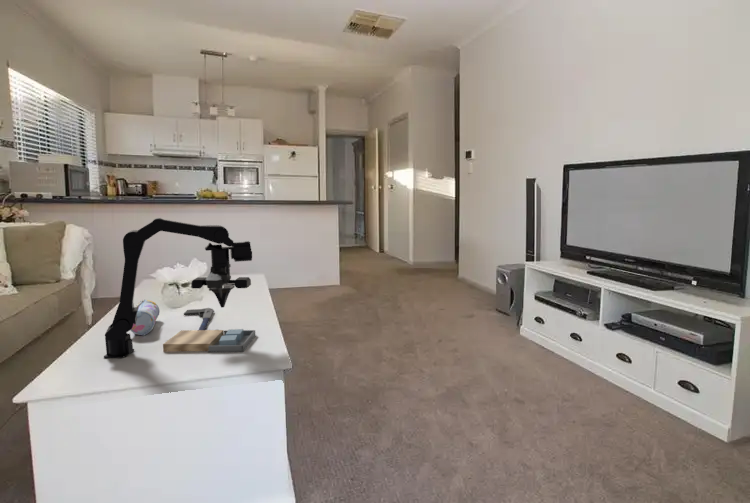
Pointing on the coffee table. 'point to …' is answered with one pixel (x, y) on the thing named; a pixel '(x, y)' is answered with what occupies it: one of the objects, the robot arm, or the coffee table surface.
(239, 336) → the tile far
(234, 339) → the tile near
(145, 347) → the coffee table surface
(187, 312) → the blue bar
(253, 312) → the coffee table surface
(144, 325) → the pencil case
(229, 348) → the tray
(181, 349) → the oak board
